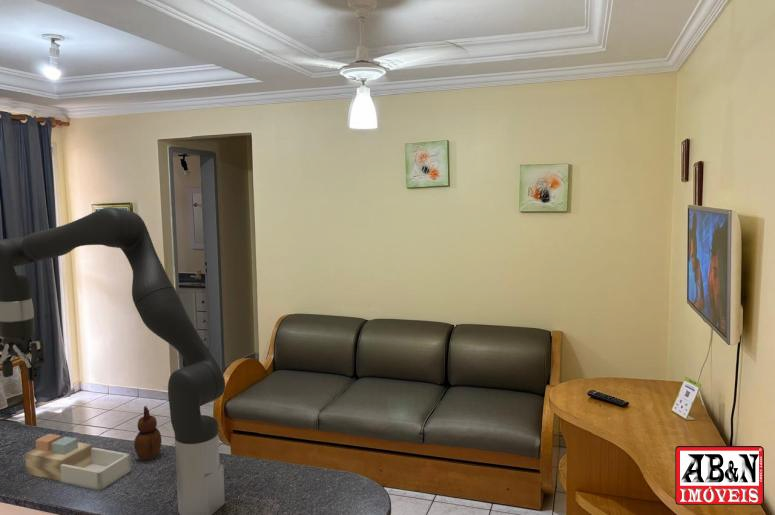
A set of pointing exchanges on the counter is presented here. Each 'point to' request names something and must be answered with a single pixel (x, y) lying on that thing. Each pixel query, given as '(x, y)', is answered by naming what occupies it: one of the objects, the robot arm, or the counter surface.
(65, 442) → the slate tile
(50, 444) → the terracotta tile
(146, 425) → the wooden figurine
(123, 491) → the counter surface
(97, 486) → the tray
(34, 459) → the wooden block
